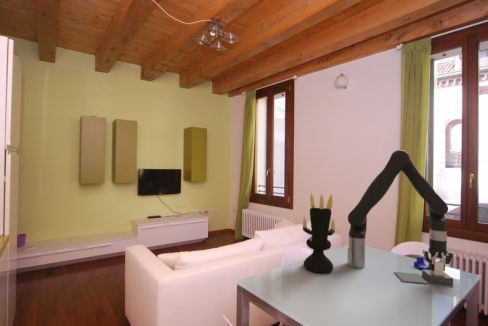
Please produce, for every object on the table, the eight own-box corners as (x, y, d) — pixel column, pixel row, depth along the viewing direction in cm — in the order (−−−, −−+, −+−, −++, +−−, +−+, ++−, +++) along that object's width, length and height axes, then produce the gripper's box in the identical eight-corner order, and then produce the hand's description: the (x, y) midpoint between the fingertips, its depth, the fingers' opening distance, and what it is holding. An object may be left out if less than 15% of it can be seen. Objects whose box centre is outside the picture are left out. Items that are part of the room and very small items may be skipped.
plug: (434, 281, 140) (435, 261, 140) (430, 277, 144) (431, 259, 144) (443, 281, 139) (443, 262, 140) (439, 278, 143) (439, 259, 143)
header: (431, 283, 138) (431, 276, 138) (421, 275, 148) (422, 269, 148) (453, 285, 136) (453, 278, 136) (442, 277, 146) (442, 270, 146)
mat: (402, 282, 139) (402, 280, 139) (393, 272, 151) (393, 271, 151) (428, 284, 137) (428, 283, 137) (417, 274, 149) (417, 273, 149)
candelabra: (333, 263, 163) (334, 189, 163) (340, 279, 141) (341, 193, 141) (301, 261, 166) (303, 188, 167) (303, 275, 145) (304, 192, 145)
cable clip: (414, 266, 162) (414, 256, 162) (421, 266, 162) (421, 256, 162) (428, 274, 150) (428, 263, 150) (436, 274, 150) (436, 263, 150)
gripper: (426, 239, 139) (426, 272, 139) (457, 241, 137) (456, 275, 137) (419, 235, 147) (419, 267, 147) (448, 237, 144) (448, 269, 144)
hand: (437, 270), depth 142 cm, fingers closed on plug, 4 cm apart
